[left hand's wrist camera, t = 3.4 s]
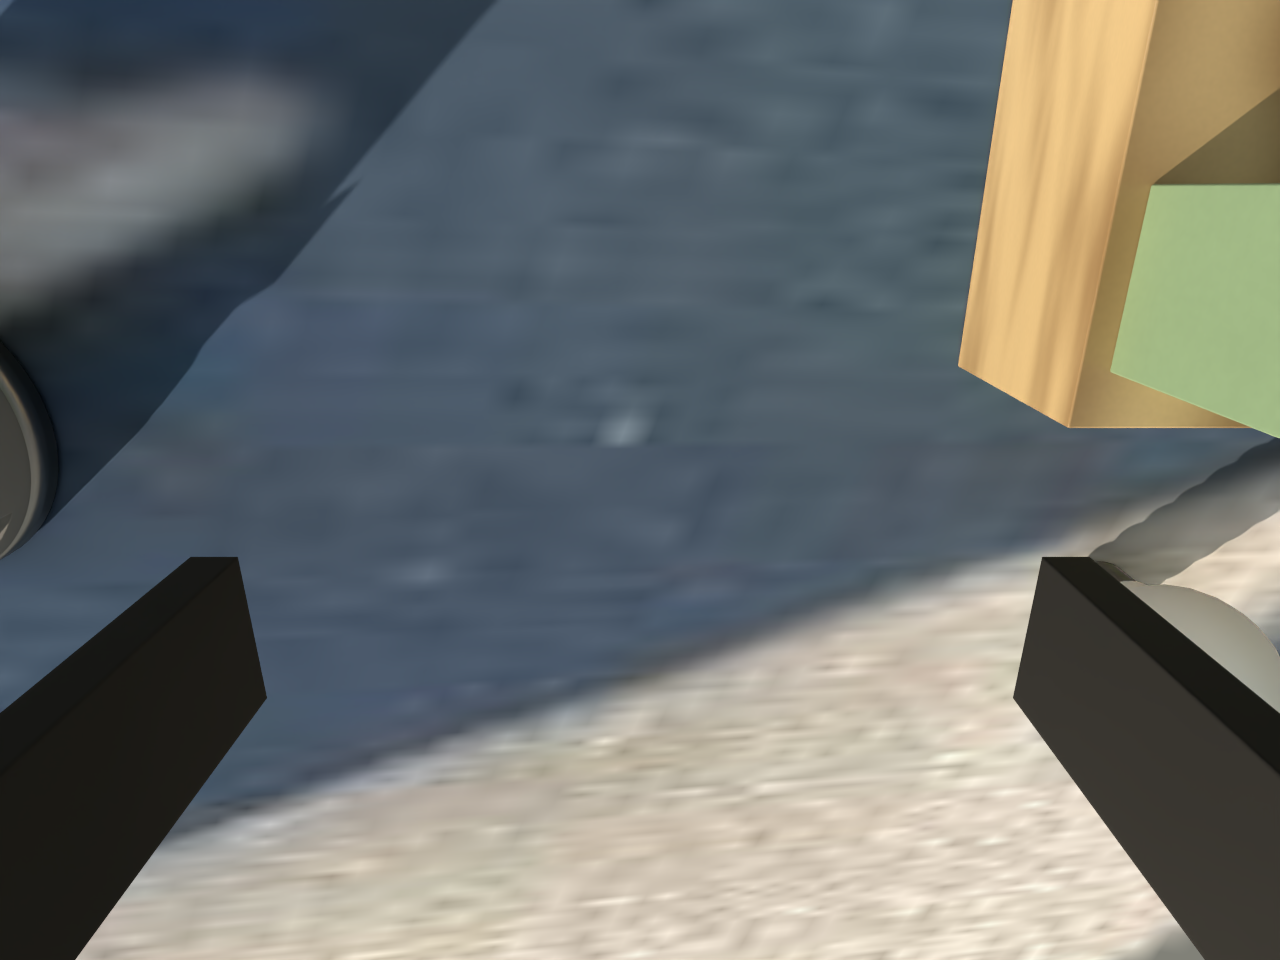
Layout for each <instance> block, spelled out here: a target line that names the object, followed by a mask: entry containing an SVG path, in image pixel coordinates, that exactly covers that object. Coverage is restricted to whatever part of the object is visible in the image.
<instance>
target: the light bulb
mask: <svg viewBox="0 0 1280 960" xmlns="http://www.w3.org/2000/svg"><path fill="white" fill-rule="evenodd" d="M1096 563H1097V564H1098V565H1100V566H1101V567H1102V568H1103V569H1104V570H1106V571H1107V572H1108V573H1109V574H1111V575H1112V576H1113V577H1114V578H1115V579H1117V580H1118V581H1119V582H1120V583H1122V584H1123V585H1124V586H1125V587H1126V588H1128V589H1129V590H1130V591H1131V592H1133V593H1134V594H1135V595H1136V596H1137V597H1139V598H1140V599H1141V600H1142V601H1144V602H1145V603H1146V604H1147V605H1148V606H1150V607H1151V608H1152V609H1153V610H1155V611H1156V612H1157V613H1158V614H1159V615H1161V616H1162V617H1163V618H1164V619H1165V620H1167V621H1168V622H1169V623H1170V624H1172V625H1173V626H1174V627H1175V628H1176V629H1178V630H1179V631H1180V632H1181V633H1183V634H1184V635H1185V636H1186V637H1187V638H1189V639H1190V640H1191V641H1192V642H1194V643H1195V644H1196V645H1197V646H1198V647H1200V648H1201V649H1202V650H1203V651H1205V652H1206V653H1207V654H1208V655H1209V656H1211V657H1212V658H1213V659H1214V660H1215V661H1217V662H1218V663H1219V664H1220V665H1222V666H1223V667H1224V668H1225V669H1226V670H1228V671H1229V672H1230V673H1231V674H1233V675H1234V676H1235V677H1236V678H1237V679H1239V680H1240V681H1241V682H1242V683H1244V684H1245V685H1246V686H1247V687H1248V688H1250V689H1251V690H1252V691H1253V692H1255V693H1256V694H1257V695H1258V696H1259V697H1261V698H1262V699H1263V700H1264V701H1266V702H1267V703H1268V704H1269V705H1270V706H1272V707H1273V708H1274V709H1275V710H1276V711H1278V712H1279V713H1280V656H1279V654H1278V652H1277V650H1276V648H1275V647H1274V645H1273V644H1272V643H1271V642H1270V640H1269V639H1268V638H1267V637H1266V635H1265V634H1264V633H1263V632H1262V631H1261V630H1260V629H1259V628H1258V626H1257V625H1256V624H1254V623H1253V622H1252V621H1251V620H1250V619H1248V618H1247V617H1246V616H1245V615H1244V614H1242V613H1241V612H1239V611H1238V610H1236V609H1235V608H1233V607H1232V606H1230V605H1228V604H1227V603H1225V602H1223V601H1221V600H1220V599H1218V598H1215V597H1213V596H1210V595H1207V594H1205V593H1202V592H1199V591H1196V590H1193V589H1191V588H1184V587H1178V586H1171V585H1148V586H1147V585H1146V584H1143V583H1141V582H1137V581H1135V580H1134V579H1132V578H1131V577H1130V576H1129V575H1127V574H1126V573H1125V572H1124V571H1122V570H1121V569H1120V568H1118V567H1117V566H1115V565H1113V564H1110V563H1107V562H1099V561H1096Z"/></svg>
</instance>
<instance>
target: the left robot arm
mask: <svg viewBox="0 0 1280 960" xmlns="http://www.w3.org/2000/svg"><path fill="white" fill-rule="evenodd" d="M57 482H58V452H57V445H56V440H55V435H54V431H53V427H52V424H51V421H50V418H49V416H48V413H47V411H46V408H45V406H44V404H43V401H42V399H41V397H40V395H39V394H38V392H37V390H36V388H35V386H34V384H33V383H32V381H31V380H30V378H29V377H28V375H27V374H26V372H25V371H24V369H23V368H22V366H21V365H20V364H19V363H18V361H17V360H16V359H15V357H14V356H13V355H12V354H11V353H10V351H9V350H8V349H7V348H6V347H5V346H4V345H3V344H2V342H1V341H0V560H1V559H2V558H4V557H6V556H8V555H9V554H11V553H12V552H14V551H16V550H17V549H19V548H20V547H21V546H23V545H24V544H25V543H26V542H27V541H28V540H30V539H31V537H32V536H33V535H34V534H35V533H36V532H37V531H38V529H39V528H40V527H41V525H42V524H43V522H44V521H45V519H46V517H47V515H48V513H49V511H50V509H51V506H52V503H53V500H54V498H55V493H56V488H57ZM266 699H267V696H266V691H265V686H264V681H263V677H262V672H261V667H260V662H259V657H258V653H257V648H256V643H255V638H254V633H253V628H252V624H251V619H250V614H249V609H248V604H247V600H246V595H245V590H244V585H243V580H242V575H241V571H240V566H239V561H238V557H190V558H189V559H188V560H186V561H185V562H184V563H183V564H182V565H180V566H179V567H178V568H177V569H176V570H174V571H173V572H172V573H171V574H169V575H168V576H167V577H166V578H165V579H163V580H162V581H161V582H160V583H158V584H157V585H156V586H155V587H154V588H152V589H151V590H150V591H149V592H147V593H146V594H145V595H144V596H143V597H141V598H140V599H139V600H138V601H136V602H135V603H134V604H133V605H132V606H130V607H129V608H128V609H127V610H125V611H124V612H123V613H122V614H121V615H119V616H118V617H117V618H116V619H115V620H113V621H112V622H111V623H110V624H108V625H107V626H106V627H105V628H104V629H102V630H101V631H100V632H99V633H97V634H96V635H95V636H94V637H93V638H91V639H90V640H89V641H88V642H86V643H85V644H84V645H83V646H82V647H80V648H79V649H78V650H77V651H75V652H74V653H73V654H72V655H71V656H69V657H68V658H67V659H66V660H65V661H63V662H62V663H61V664H60V665H58V666H57V667H56V668H55V669H54V670H52V671H51V672H50V673H49V674H47V675H46V676H45V677H44V678H43V679H41V680H40V681H39V682H38V683H36V684H35V685H34V686H33V687H32V688H30V689H29V690H28V691H27V692H25V693H24V694H23V695H22V696H21V697H19V698H18V699H17V700H16V701H15V702H13V703H12V704H11V705H10V706H8V707H7V708H6V709H5V710H4V711H2V712H1V713H0V960H75V959H76V958H77V956H78V955H79V954H80V952H81V951H82V950H83V948H84V947H85V946H86V944H87V943H88V941H89V940H90V939H91V937H92V936H93V935H94V933H95V932H96V931H97V929H98V928H99V926H100V925H101V924H102V922H103V921H104V920H105V918H106V917H107V916H108V914H109V913H110V911H111V910H112V909H113V907H114V906H115V905H116V903H117V902H118V901H119V899H120V898H121V896H122V895H123V894H124V892H125V891H126V890H127V888H128V887H129V886H130V884H131V883H132V881H133V880H134V879H135V877H136V876H137V875H138V873H139V872H140V870H141V869H142V868H143V866H144V865H145V864H146V862H147V861H148V860H149V858H150V857H151V855H152V854H153V853H154V851H155V850H156V849H157V847H158V846H159V845H160V843H161V842H162V840H163V839H164V838H165V836H166V835H167V834H168V832H169V831H170V830H171V828H172V827H173V825H174V824H175V823H176V821H177V820H178V819H179V817H180V816H181V815H182V813H183V812H184V810H185V809H186V808H187V806H188V805H189V804H190V802H191V801H192V800H193V798H194V797H195V795H196V794H197V793H198V791H199V790H200V789H201V787H202V786H203V784H204V783H205V782H206V780H207V779H208V778H209V776H210V775H211V774H212V772H213V771H214V769H215V768H216V767H217V765H218V764H219V763H220V761H221V760H222V759H223V757H224V756H225V754H226V753H227V752H228V750H229V749H230V748H231V746H232V745H233V744H234V742H235V741H236V739H237V738H238V737H239V735H240V734H241V733H242V731H243V730H244V729H245V727H246V726H247V724H248V723H249V722H250V720H251V719H252V718H253V716H254V715H255V714H256V712H257V711H258V709H259V708H260V707H261V705H262V704H263V703H264V701H265V700H266ZM1013 699H1014V700H1015V701H1016V703H1017V704H1018V705H1019V707H1020V708H1021V709H1022V711H1023V712H1024V714H1025V715H1026V716H1027V718H1028V719H1029V720H1030V722H1031V723H1032V724H1033V726H1034V727H1035V729H1036V730H1037V731H1038V733H1039V734H1040V735H1041V737H1042V738H1043V739H1044V741H1045V742H1046V744H1047V745H1048V746H1049V748H1050V749H1051V750H1052V752H1053V753H1054V754H1055V756H1056V757H1057V759H1058V760H1059V761H1060V763H1061V764H1062V765H1063V767H1064V768H1065V769H1066V771H1067V772H1068V774H1069V775H1070V776H1071V778H1072V779H1073V780H1074V782H1075V783H1076V784H1077V786H1078V787H1079V789H1080V790H1081V791H1082V793H1083V794H1084V795H1085V797H1086V798H1087V800H1088V801H1089V802H1090V804H1091V805H1092V806H1093V808H1094V809H1095V810H1096V812H1097V813H1098V815H1099V816H1100V817H1101V819H1102V820H1103V821H1104V823H1105V824H1106V825H1107V827H1108V828H1109V830H1110V831H1111V832H1112V834H1113V835H1114V836H1115V838H1116V839H1117V840H1118V842H1119V843H1120V845H1121V846H1122V847H1123V849H1124V850H1125V851H1126V853H1127V854H1128V855H1129V857H1130V858H1131V860H1132V861H1133V862H1134V864H1135V865H1136V866H1137V868H1138V869H1139V870H1140V872H1141V873H1142V875H1143V876H1144V877H1145V879H1146V880H1147V881H1148V883H1149V884H1150V886H1151V887H1152V888H1153V890H1154V891H1155V892H1156V894H1157V895H1158V896H1159V898H1160V899H1161V901H1162V902H1163V903H1164V905H1165V906H1166V907H1167V909H1168V910H1169V911H1170V913H1171V914H1172V916H1173V917H1174V918H1175V920H1176V921H1177V922H1178V924H1179V925H1180V926H1181V928H1182V929H1183V931H1184V932H1185V933H1186V935H1187V936H1188V937H1189V939H1190V940H1191V941H1192V943H1193V944H1194V946H1195V947H1196V948H1197V950H1198V951H1199V952H1200V954H1201V955H1202V956H1203V958H1204V959H1205V960H1280V713H1279V712H1278V711H1276V710H1275V709H1274V708H1273V707H1272V706H1270V705H1269V704H1268V703H1267V702H1266V701H1264V700H1263V699H1262V698H1261V697H1259V696H1258V695H1257V694H1256V693H1255V692H1253V691H1252V690H1251V689H1250V688H1248V687H1247V686H1246V685H1245V684H1244V683H1242V682H1241V681H1240V680H1239V679H1237V678H1236V677H1235V676H1234V675H1233V674H1231V673H1230V672H1229V671H1228V670H1226V669H1225V668H1224V667H1223V666H1222V665H1220V664H1219V663H1218V662H1217V661H1215V660H1214V659H1213V658H1212V657H1211V656H1209V655H1208V654H1207V653H1206V652H1205V651H1203V650H1202V649H1201V648H1200V647H1198V646H1197V645H1196V644H1195V643H1194V642H1192V641H1191V640H1190V639H1189V638H1187V637H1186V636H1185V635H1184V634H1183V633H1181V632H1180V631H1179V630H1178V629H1176V628H1175V627H1174V626H1173V625H1172V624H1170V623H1169V622H1168V621H1167V620H1165V619H1164V618H1163V617H1162V616H1161V615H1159V614H1158V613H1157V612H1156V611H1155V610H1153V609H1152V608H1151V607H1150V606H1148V605H1147V604H1146V603H1145V602H1144V601H1142V600H1141V599H1140V598H1139V597H1137V596H1136V595H1135V594H1134V593H1133V592H1131V591H1130V590H1129V589H1128V588H1126V587H1125V586H1124V585H1123V584H1122V583H1120V582H1119V581H1118V580H1117V579H1115V578H1114V577H1113V576H1112V575H1111V574H1109V573H1108V572H1107V571H1106V570H1104V569H1103V568H1102V567H1101V566H1100V565H1098V564H1097V563H1096V562H1095V561H1094V560H1092V559H1091V558H1090V557H1042V561H1041V566H1040V571H1039V575H1038V580H1037V585H1036V590H1035V595H1034V600H1033V604H1032V609H1031V614H1030V619H1029V624H1028V628H1027V633H1026V638H1025V643H1024V648H1023V653H1022V657H1021V662H1020V667H1019V672H1018V677H1017V681H1016V686H1015V691H1014V696H1013Z"/></svg>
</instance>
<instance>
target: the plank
mask: <svg viewBox="0 0 1280 960" xmlns="http://www.w3.org/2000/svg"><path fill="white" fill-rule="evenodd" d="M1219 183H1280V0H1013V4H1012V10H1011V17H1010V24H1009V30H1008V37H1007V44H1006V50H1005V57H1004V64H1003V70H1002V77H1001V84H1000V90H999V97H998V104H997V110H996V117H995V124H994V130H993V137H992V144H991V150H990V157H989V164H988V170H987V177H986V184H985V190H984V197H983V204H982V210H981V217H980V224H979V230H978V237H977V244H976V250H975V257H974V264H973V270H972V277H971V284H970V290H969V297H968V304H967V310H966V317H965V324H964V330H963V337H962V344H961V350H960V357H959V364H958V366H959V367H961V368H963V369H965V370H966V371H968V372H970V373H972V374H973V375H975V376H977V377H979V378H981V379H982V380H984V381H986V382H988V383H989V384H991V385H993V386H995V387H997V388H998V389H1000V390H1002V391H1004V392H1006V393H1007V394H1009V395H1011V396H1013V397H1014V398H1016V399H1018V400H1020V401H1022V402H1023V403H1025V404H1027V405H1029V406H1031V407H1032V408H1034V409H1036V410H1038V411H1039V412H1041V413H1043V414H1045V415H1047V416H1048V417H1050V418H1052V419H1054V420H1055V421H1057V422H1059V423H1061V424H1063V425H1064V426H1066V427H1068V428H1252V427H1249V426H1246V425H1244V424H1241V423H1239V422H1236V421H1234V420H1231V419H1229V418H1226V417H1224V416H1221V415H1218V414H1216V413H1213V412H1211V411H1208V410H1206V409H1203V408H1201V407H1198V406H1195V405H1193V404H1190V403H1188V402H1185V401H1183V400H1180V399H1178V398H1175V397H1173V396H1170V395H1167V394H1165V393H1162V392H1160V391H1157V390H1155V389H1152V388H1150V387H1147V386H1144V385H1142V384H1139V383H1137V382H1134V381H1132V380H1129V379H1127V378H1124V377H1122V376H1119V375H1116V374H1114V373H1111V372H1110V369H1111V365H1112V360H1113V356H1114V351H1115V347H1116V342H1117V338H1118V333H1119V328H1120V324H1121V319H1122V315H1123V310H1124V306H1125V301H1126V297H1127V292H1128V288H1129V283H1130V279H1131V274H1132V270H1133V265H1134V261H1135V256H1136V252H1137V247H1138V243H1139V238H1140V234H1141V229H1142V225H1143V220H1144V216H1145V211H1146V207H1147V202H1148V198H1149V193H1150V189H1151V186H1152V185H1153V184H1219Z"/></svg>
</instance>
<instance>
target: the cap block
mask: <svg viewBox="0 0 1280 960" xmlns="http://www.w3.org/2000/svg"><path fill="white" fill-rule="evenodd" d="M1110 372H1111V373H1114V374H1116V375H1119V376H1122V377H1124V378H1127V379H1129V380H1132V381H1134V382H1137V383H1139V384H1142V385H1144V386H1147V387H1150V388H1152V389H1155V390H1157V391H1160V392H1162V393H1165V394H1167V395H1170V396H1173V397H1175V398H1178V399H1180V400H1183V401H1185V402H1188V403H1190V404H1193V405H1195V406H1198V407H1201V408H1203V409H1206V410H1208V411H1211V412H1213V413H1216V414H1218V415H1221V416H1224V417H1226V418H1229V419H1231V420H1234V421H1236V422H1239V423H1241V424H1244V425H1246V426H1249V427H1252V428H1254V429H1257V430H1259V431H1262V432H1264V433H1267V434H1269V435H1272V436H1275V437H1277V438H1280V183H1219V184H1153V185H1152V186H1151V189H1150V193H1149V198H1148V202H1147V207H1146V211H1145V216H1144V220H1143V225H1142V229H1141V234H1140V238H1139V243H1138V247H1137V252H1136V256H1135V261H1134V265H1133V270H1132V274H1131V279H1130V283H1129V288H1128V292H1127V297H1126V301H1125V306H1124V310H1123V315H1122V319H1121V324H1120V328H1119V333H1118V338H1117V342H1116V347H1115V351H1114V356H1113V360H1112V365H1111V369H1110Z"/></svg>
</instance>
